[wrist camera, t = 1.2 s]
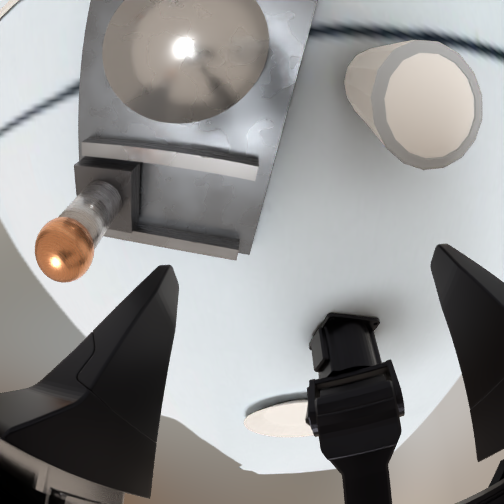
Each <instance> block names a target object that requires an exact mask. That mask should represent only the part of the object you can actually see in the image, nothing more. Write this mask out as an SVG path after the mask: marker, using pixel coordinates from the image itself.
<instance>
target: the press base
mask: <svg viewBox="0 0 504 504" xmlns="http://www.w3.org/2000/svg"><path fill="white" fill-rule="evenodd" d="M317 1H318V0H91V2H90V7H89V12H88V18H87V24H86V30H85V37H84V44H83V52H82V62H81V73H80V88H79V117H78V134H79V161H80V160H81V159H83V158H84V157H85V156H90V157H101V158H110V159H119V160H128V161H136V162H140V189H139V222H138V224H137V225H136V227H135V229H134V231H133V232H132V233H127V232H121V231H116V230H110V229H107V231H106V232H105V234H104V235H103V236H106V237H111V238H116V239H122V240H127V241H132V242H138V243H143V244H148V245H154V246H159V247H165V248H170V249H175V250H181V251H186V252H192V253H197V254H203V255H209V256H214V257H220V258H225V259H231V260H237V255H238V253H242V254H248V255H249V254H250V250H251V247H252V243H253V239H254V235H255V232H256V228H257V224H258V220H259V217H260V213H261V209H262V205H263V202H264V198H265V194H266V190H267V187H268V183H269V179H270V175H271V172H272V168H273V164H274V160H275V157H276V153H277V149H278V146H279V142H280V138H281V134H282V131H283V127H284V123H285V119H286V116H287V112H288V108H289V105H290V101H291V97H292V93H293V90H294V86H295V82H296V78H297V75H298V71H299V67H300V64H301V60H302V56H303V52H304V49H305V45H306V41H307V38H308V34H309V30H310V27H311V23H312V19H313V15H314V12H315V8H316V4H317Z"/></svg>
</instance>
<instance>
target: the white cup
mask: <svg viewBox="0 0 504 504" xmlns="http://www.w3.org/2000/svg"><path fill="white" fill-rule="evenodd" d="M344 84H345V90H346V97H347V98H348V100H349V102H350V103H351V105H352V107H353V109H354V110H355V111H356V113H357V114H358V115H359V116H360V117H361V118H362V119H363V120H364V122H365V123H366V124H367V125H368V126H369V128H370V129H371V130H372V131H373V132H374V134H375V135H376V136H377V137H378V138H379V140H380V141H381V142H382V143H383V145H384V146H385V147H386V148H387V149H388V150H389V151H390V152H391V153H393V154H394V155H395V156H396V157H397V158H398V159H399V160H400V161H401V162H403V163H404V164H407V165H410V166H414V167H417V168H419V169H422V170H427V169H436V168H444V167H446V166H448V165H449V164H451V163H453V162H455V161H456V160H458V159H460V158H462V156H463V155H464V154H465V153H466V151H467V150H468V149H469V148H470V146H471V145H472V144H473V143H474V141H475V139H476V136H477V133H478V130H479V127H480V124H481V121H482V94H481V91H480V88H479V85H478V82H477V79H476V76H475V74H474V72H473V71H472V69H471V68H470V67H469V65H468V64H467V63H466V62H465V60H464V59H463V58H462V57H461V55H460V54H459V53H457V52H455V51H454V50H452V49H450V48H449V47H447V46H445V45H443V44H442V43H440V42H436V41H424V40H412V41H406V42H400V43H394V44H389V45H384V46H380V47H375V48H371V49H368V50H366V51H364V52H362V53H360V54H358V55H356V56H355V58H354V59H353V60H352V62H351V63H350V64H349V65H348V67H347V71H346V75H345V79H344Z"/></svg>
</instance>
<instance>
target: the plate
mask: <svg viewBox="0 0 504 504" xmlns="http://www.w3.org/2000/svg"><path fill="white" fill-rule="evenodd" d="M307 405H308V399H306V400H295V401H288V402H284V403H279V404H276V405H273V406H270V407H268V408H265V409H262V410H259V411H256V412H254V413H252V414H250V415H248V416H247V417H246V419H245V420H244V425H245V427H246V428H247V429H249V430H251V431H252V432H255V433H258V434H262V435H267V436H274V437H304V436H311V435H314V434H313V431H312V429H311V427H310V426H309V425H308V424H306V421H305V418H306V412H307Z"/></svg>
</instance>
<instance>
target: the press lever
mask: <svg viewBox="0 0 504 504" xmlns="http://www.w3.org/2000/svg"><path fill="white" fill-rule="evenodd" d="M74 171H75V183H76V194H77V197H76V198H75V199H74V200H73V202H72V203H71V204H70V205H69V206H68V207H67V208H66V209H65V210H64V211H63V212H62V214H61V215H60V216H59V217H58V218H55V219H53V220H51V221H49V222H48V223H47V224H46V225H45V226H44V227H43V228H42V229H41V231H40V232H39V234H38V236H37V239H36V243H35V256H36V260H37V263H38V265H39V267H40V269H41V270H42V272H43V273H44V274H45V275H46V276H48V277H49V278H51V279H52V280H54V281H58V282H71V281H74V280H77V279H78V278H80V277H81V276H83V275H84V274H85V273H86V272H87V270H88V269H89V267H90V265H91V263H92V260H93V256H94V249H95V248H96V246H97V245H98V243H99V242H100V240H101V238H102V237H103V235H104V234H105V232H106V231H107V229H110V230H116V231H121V232H127V233H132V232H133V231H134V229H135V227H136V225H137V224H138V222H139V189H140V162H136V161H128V160H119V159H110V158H101V157H90V156H85V157H84V158H83V159H81V160H80V161H79V162H78V163H76V164H75V165H74Z"/></svg>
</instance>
